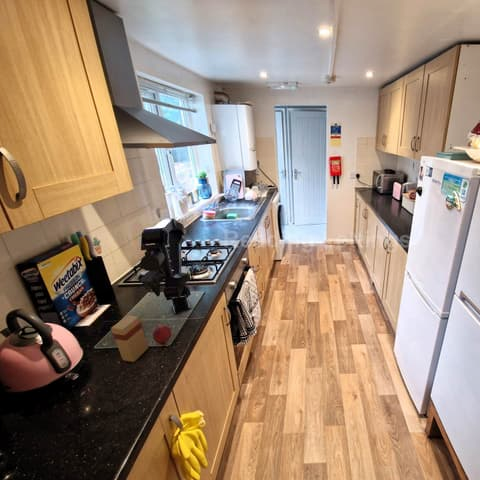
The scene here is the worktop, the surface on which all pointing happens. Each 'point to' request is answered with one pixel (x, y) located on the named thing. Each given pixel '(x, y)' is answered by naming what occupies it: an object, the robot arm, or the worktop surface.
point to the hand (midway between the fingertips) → (168, 297)
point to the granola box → (130, 338)
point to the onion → (161, 334)
